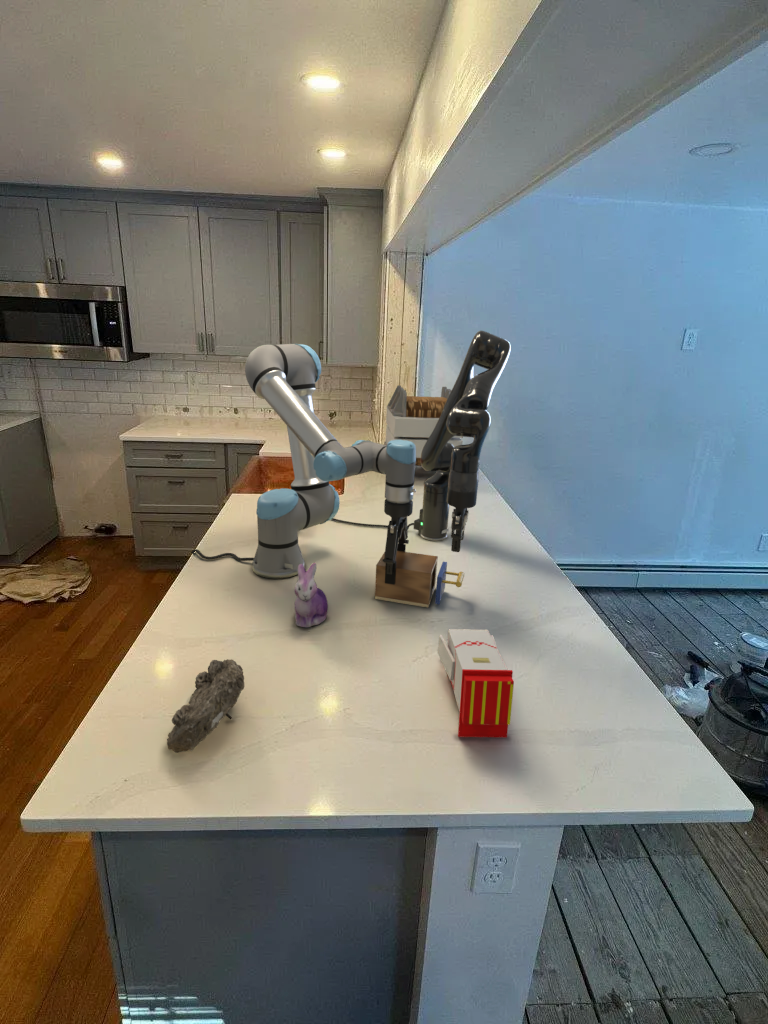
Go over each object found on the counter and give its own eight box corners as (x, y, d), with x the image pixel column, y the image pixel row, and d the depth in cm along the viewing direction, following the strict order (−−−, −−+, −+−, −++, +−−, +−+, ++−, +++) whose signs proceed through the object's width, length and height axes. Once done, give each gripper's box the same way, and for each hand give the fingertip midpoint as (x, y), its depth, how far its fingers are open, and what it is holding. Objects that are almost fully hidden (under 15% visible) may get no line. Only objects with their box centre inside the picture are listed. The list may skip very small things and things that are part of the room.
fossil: (192, 660, 117) (244, 628, 112) (224, 691, 120) (276, 661, 115) (142, 746, 98) (202, 712, 93) (182, 779, 101) (242, 748, 96)
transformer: (382, 463, 289) (386, 382, 275) (445, 464, 293) (451, 384, 279) (390, 482, 257) (394, 392, 243) (460, 483, 261) (468, 394, 247)
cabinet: (435, 588, 162) (437, 556, 158) (428, 607, 151) (431, 573, 148) (384, 581, 165) (386, 549, 162) (374, 598, 155) (376, 565, 151)
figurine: (299, 632, 137) (299, 576, 132) (286, 613, 145) (285, 559, 140) (336, 624, 141) (336, 570, 136) (320, 605, 149) (321, 553, 144)
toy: (488, 613, 130) (523, 677, 101) (484, 667, 133) (517, 744, 104) (435, 612, 130) (455, 676, 101) (432, 666, 133) (451, 743, 103)
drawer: (463, 590, 159) (465, 564, 156) (458, 607, 150) (461, 580, 147) (398, 580, 163) (399, 555, 160) (390, 596, 154) (391, 569, 151)
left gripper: (403, 515, 138) (398, 595, 145) (421, 488, 160) (416, 558, 167) (373, 512, 140) (370, 591, 147) (395, 485, 161) (391, 555, 169)
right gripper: (475, 496, 137) (469, 557, 143) (479, 480, 150) (474, 537, 156) (444, 493, 139) (439, 553, 144) (451, 477, 152) (446, 534, 157)
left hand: (394, 574), depth 157 cm, fingers closed on cabinet, 11 cm apart
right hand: (457, 545), depth 150 cm, fingers open, 8 cm apart
